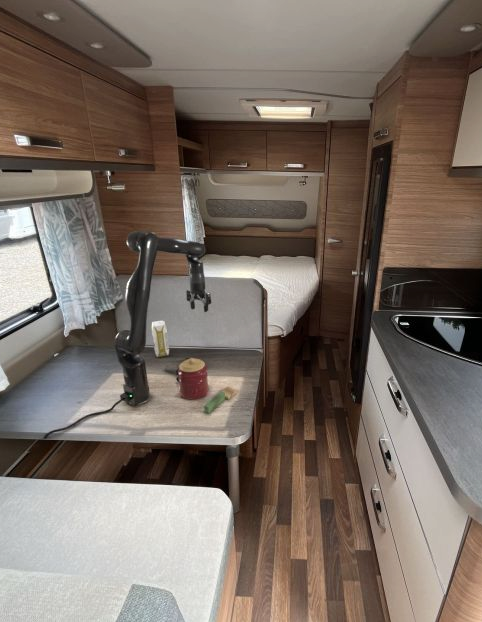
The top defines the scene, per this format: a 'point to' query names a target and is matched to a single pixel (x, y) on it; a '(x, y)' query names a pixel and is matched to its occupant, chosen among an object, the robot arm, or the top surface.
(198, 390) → the kitchen canister
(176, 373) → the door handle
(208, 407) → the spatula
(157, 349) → the juice carton
